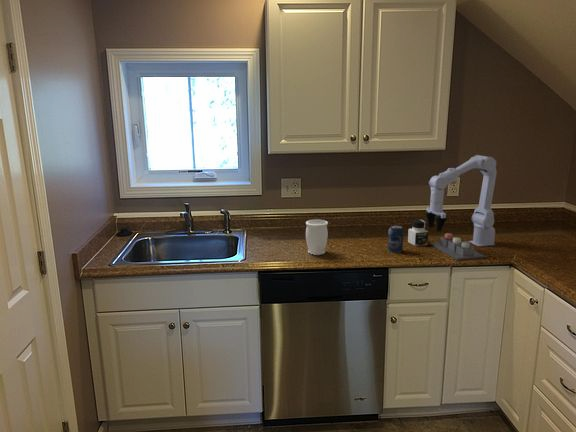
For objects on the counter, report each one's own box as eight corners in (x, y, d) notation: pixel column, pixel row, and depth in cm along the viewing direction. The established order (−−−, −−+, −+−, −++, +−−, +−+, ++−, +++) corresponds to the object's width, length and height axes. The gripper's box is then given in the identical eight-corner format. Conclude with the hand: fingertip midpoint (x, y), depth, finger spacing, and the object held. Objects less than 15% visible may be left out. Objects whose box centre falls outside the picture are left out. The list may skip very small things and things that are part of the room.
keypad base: (454, 242, 227) (455, 234, 226) (484, 257, 204) (485, 249, 203) (429, 244, 224) (430, 236, 223) (457, 260, 201) (457, 251, 200)
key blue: (466, 247, 208) (466, 241, 208) (471, 249, 205) (471, 243, 204) (459, 248, 208) (459, 241, 207) (463, 250, 204) (464, 244, 204)
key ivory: (457, 243, 215) (458, 237, 214) (462, 245, 212) (462, 239, 211) (450, 243, 214) (451, 237, 214) (455, 245, 211) (455, 239, 210)
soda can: (387, 252, 212) (389, 228, 209) (387, 248, 219) (388, 224, 216) (403, 253, 211) (404, 229, 208) (401, 249, 217) (403, 225, 214)
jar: (305, 248, 219) (305, 219, 215) (326, 248, 219) (327, 219, 215) (305, 256, 209) (305, 225, 205) (328, 256, 209) (328, 225, 205)
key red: (449, 238, 222) (450, 233, 221) (453, 241, 218) (454, 235, 218) (443, 239, 221) (443, 233, 220) (447, 241, 218) (447, 235, 217)
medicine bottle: (415, 246, 221) (416, 222, 218) (407, 242, 228) (408, 219, 225) (427, 244, 223) (429, 221, 220) (420, 240, 230) (421, 218, 227)
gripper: (421, 198, 217) (419, 225, 221) (436, 205, 204) (434, 233, 207) (434, 197, 219) (432, 224, 222) (451, 204, 205) (448, 232, 208)
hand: (434, 229), depth 215 cm, fingers open, 7 cm apart
